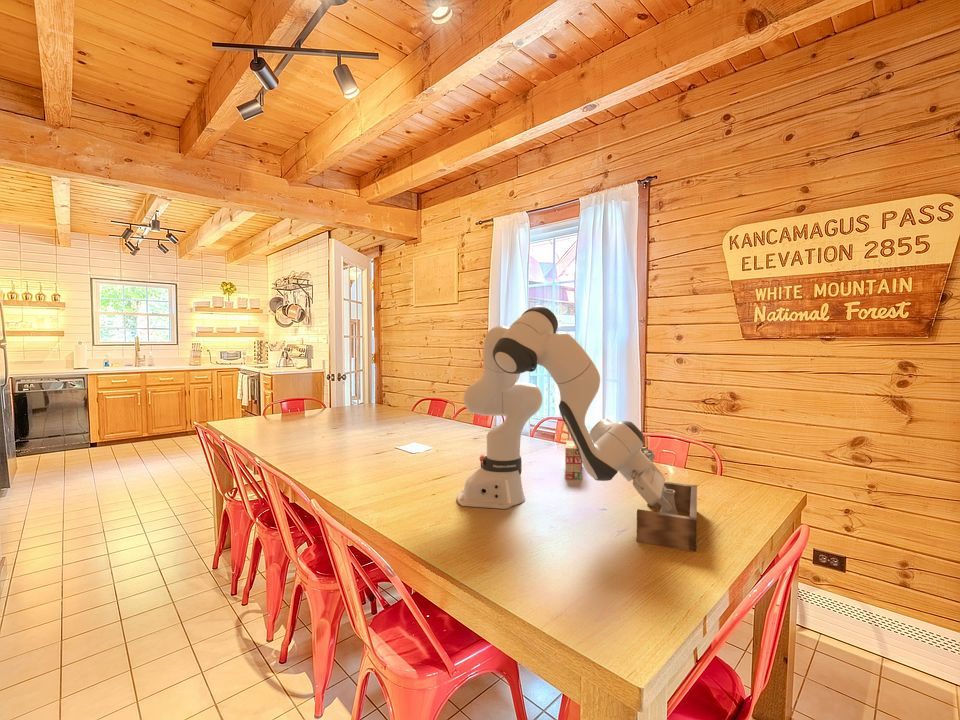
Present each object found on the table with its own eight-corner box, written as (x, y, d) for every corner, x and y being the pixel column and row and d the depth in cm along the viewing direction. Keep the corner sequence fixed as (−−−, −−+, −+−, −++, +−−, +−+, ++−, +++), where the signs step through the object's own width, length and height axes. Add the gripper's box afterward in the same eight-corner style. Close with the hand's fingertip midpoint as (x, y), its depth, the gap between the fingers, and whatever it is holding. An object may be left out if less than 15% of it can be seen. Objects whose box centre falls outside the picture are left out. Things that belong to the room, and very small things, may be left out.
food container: (650, 483, 165) (651, 456, 165) (633, 481, 168) (633, 454, 168) (657, 475, 176) (657, 449, 175) (641, 472, 179) (641, 447, 178)
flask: (682, 522, 130) (683, 488, 130) (682, 532, 124) (682, 496, 123) (656, 518, 133) (656, 485, 133) (654, 528, 127) (654, 492, 126)
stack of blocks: (566, 464, 192) (566, 435, 192) (581, 464, 191) (581, 436, 191) (565, 479, 172) (565, 447, 171) (582, 480, 170) (582, 448, 170)
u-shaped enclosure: (636, 541, 118) (636, 511, 118) (647, 504, 145) (648, 479, 144) (696, 551, 112) (696, 520, 112) (696, 511, 139) (697, 485, 138)
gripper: (639, 469, 121) (678, 511, 118) (647, 452, 140) (681, 487, 136) (622, 483, 124) (660, 525, 120) (631, 464, 142) (665, 500, 138)
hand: (671, 505), depth 128 cm, fingers open, 5 cm apart
